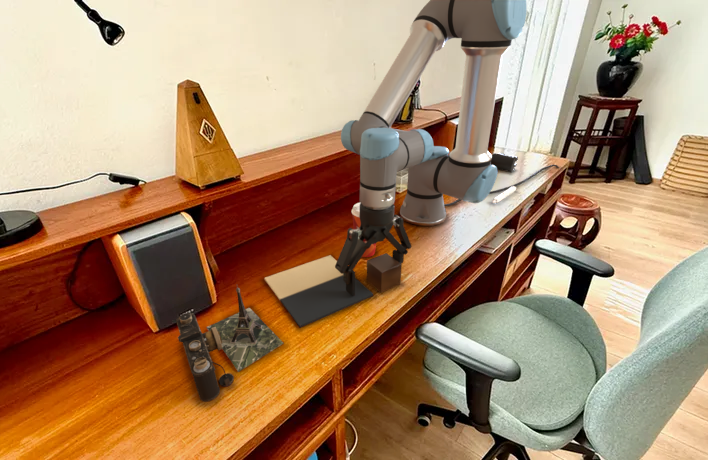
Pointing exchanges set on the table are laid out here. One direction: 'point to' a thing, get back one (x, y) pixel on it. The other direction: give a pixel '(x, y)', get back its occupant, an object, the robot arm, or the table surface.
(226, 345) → the eiffel tower figurine
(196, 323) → the camera
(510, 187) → the marker
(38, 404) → the table surface
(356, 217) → the paper cup
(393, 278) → the walnut block
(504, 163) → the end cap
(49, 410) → the table surface
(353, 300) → the sorting mat
